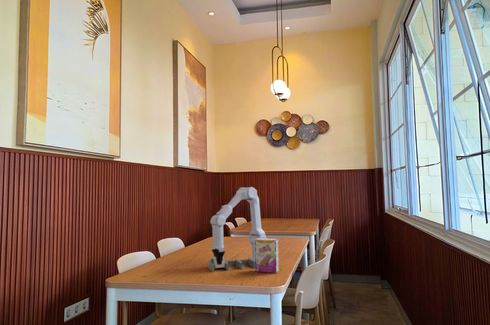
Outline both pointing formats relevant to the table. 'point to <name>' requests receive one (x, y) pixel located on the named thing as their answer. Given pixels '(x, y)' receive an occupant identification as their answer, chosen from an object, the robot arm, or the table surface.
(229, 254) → the table surface
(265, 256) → the candy bar box
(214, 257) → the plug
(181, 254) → the table surface
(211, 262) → the e-shaped shelf rack
